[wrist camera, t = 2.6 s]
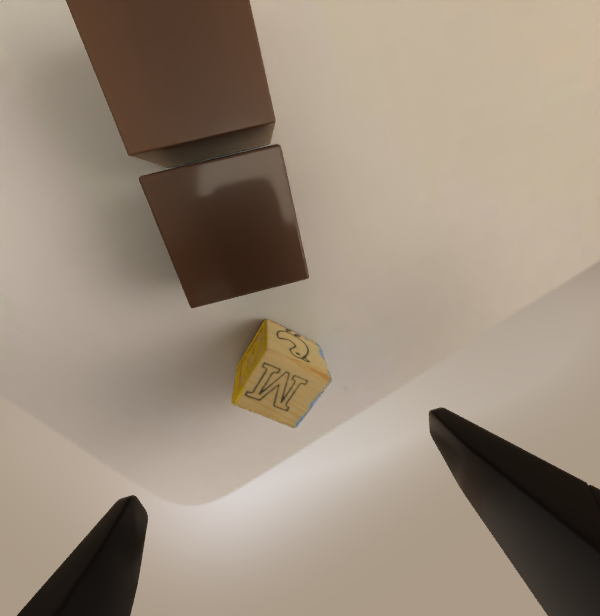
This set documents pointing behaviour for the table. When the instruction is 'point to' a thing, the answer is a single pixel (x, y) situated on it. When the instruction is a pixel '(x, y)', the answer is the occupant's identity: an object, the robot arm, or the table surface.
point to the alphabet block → (280, 375)
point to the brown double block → (199, 137)
